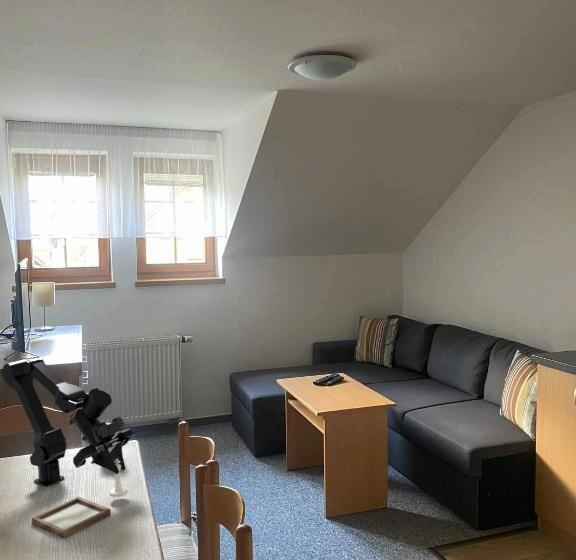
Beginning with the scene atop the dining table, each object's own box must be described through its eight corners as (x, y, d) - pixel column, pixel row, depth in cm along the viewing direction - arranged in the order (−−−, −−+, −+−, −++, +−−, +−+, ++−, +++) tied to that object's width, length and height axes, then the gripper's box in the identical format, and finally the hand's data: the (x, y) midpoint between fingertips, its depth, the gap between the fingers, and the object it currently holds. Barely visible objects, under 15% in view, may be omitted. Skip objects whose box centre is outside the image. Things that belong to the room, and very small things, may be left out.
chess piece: (122, 498, 160) (120, 463, 159) (106, 496, 161) (104, 462, 160) (130, 489, 164) (129, 456, 163) (115, 488, 165) (113, 454, 164)
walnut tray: (32, 523, 150) (31, 517, 150) (78, 501, 162) (78, 496, 162) (64, 538, 143) (63, 532, 142) (110, 514, 154) (110, 509, 154)
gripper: (78, 420, 154) (110, 468, 150) (128, 401, 170) (158, 443, 166) (59, 444, 158) (90, 491, 154) (110, 423, 175) (139, 465, 171)
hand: (121, 471), depth 161 cm, fingers closed on chess piece
